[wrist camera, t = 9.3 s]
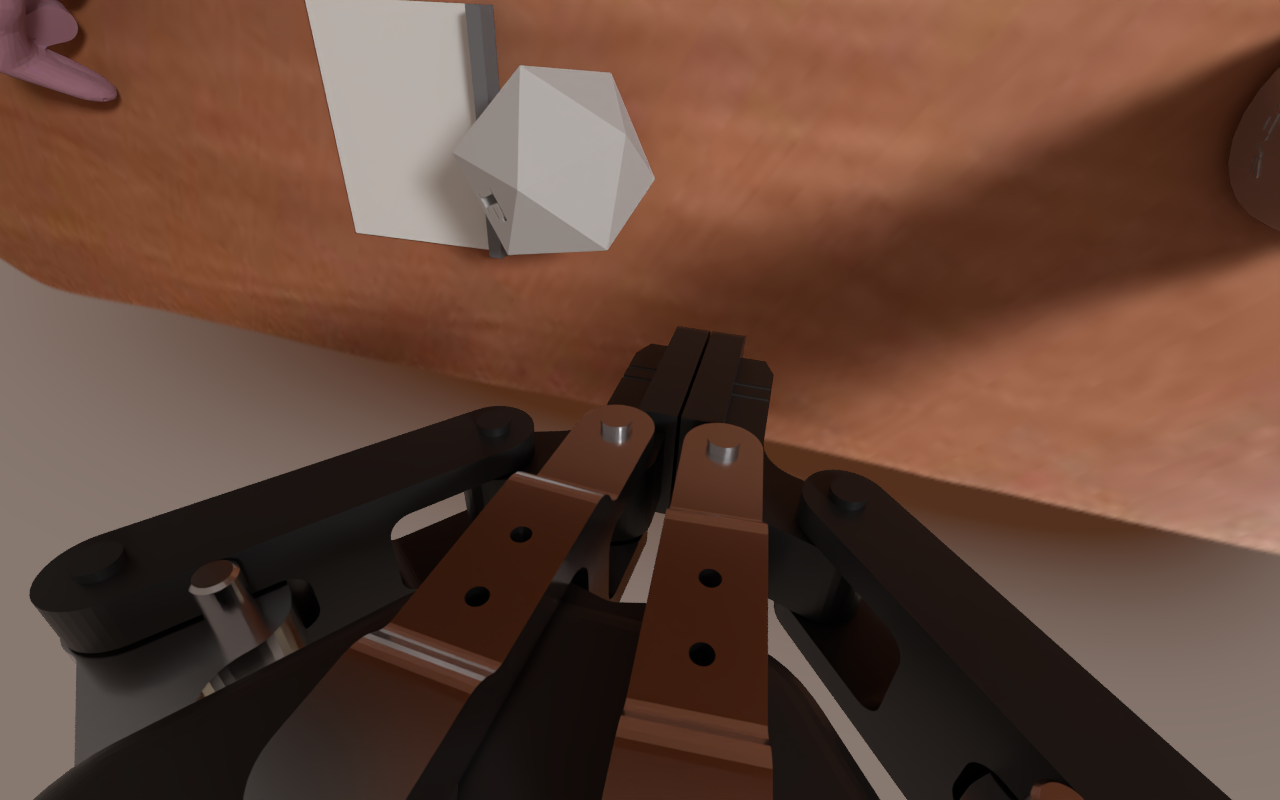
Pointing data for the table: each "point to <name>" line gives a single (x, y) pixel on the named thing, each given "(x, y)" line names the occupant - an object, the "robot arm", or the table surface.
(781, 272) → the table surface
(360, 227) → the white l-shaped plate
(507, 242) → the die
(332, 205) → the table surface
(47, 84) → the video game controller
